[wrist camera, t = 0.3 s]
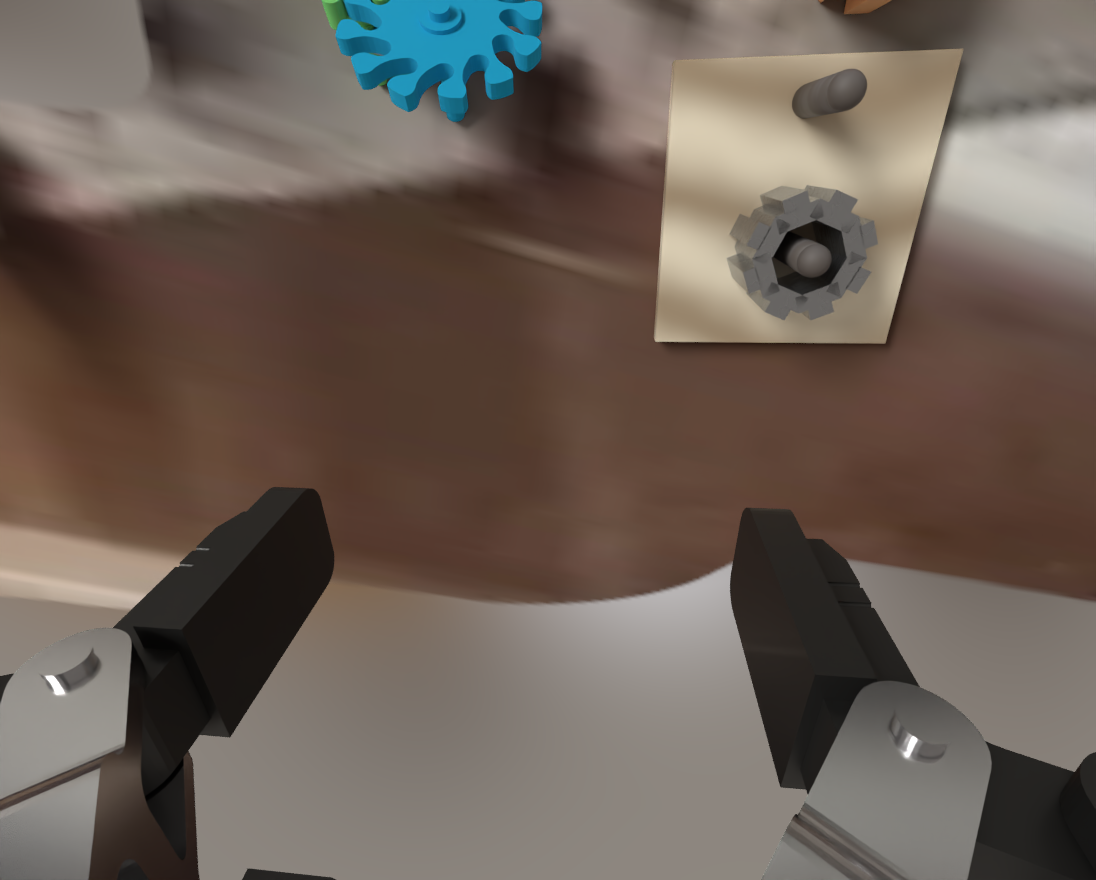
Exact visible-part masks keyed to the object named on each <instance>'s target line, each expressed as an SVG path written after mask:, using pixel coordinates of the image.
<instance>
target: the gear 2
mask: <svg viewBox="0 0 1096 880" xmlns="http://www.w3.org/2000/svg"><path fill="white" fill-rule="evenodd" d="M818 1H819V2H820V3H821V2H822V1H824V0H818ZM890 1H892V0H846V5H845V10H844V14H861V13H870V12H872V11H873V10H875V9H877V8H879V7H881V6H883V5H884V4H886V3H888V2H890Z"/></svg>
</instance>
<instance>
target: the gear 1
mask: <svg viewBox="0 0 1096 880" xmlns="http://www.w3.org/2000/svg"><path fill="white" fill-rule="evenodd" d="M760 198H761V202H762V206H761V207H758V208H756V209H754V210H753V212H752V214H751V216H750V218H749V217H747V216H745V215H742V214H739V216H738V218H737V220H736V222H735V224H734V226H733V228H732V230H731V232H730V235H731V236H733V237H734V238H736V239H738V240H737V242H736V244H735V246H734V247H735V250H736V254H735V255H733V256H731V257H728V258H727V262H728V265H729V269H730V272H731V276H732V278H733V279H734V280H735V281H736V282H737V283H738V284H739V285H740V286H741V287H742V288H743V289H744V290H745V291H746V294H747V295H748V296H749V297H750V298H751V299H752V300H753V301H754V302H755V303H756V304H757V305H758V306H759V307H760V308H761V309H762V310H763V311H764V312H766V313H768V314H770V315H773V316H775V317H777V318H780V319H782V320H785V319H786V317H787V316H788V314H789V312H790V311H791V310H792V311H794V312H796V313H802V314H803V315H804V316H806V317H807V318H808V319H809V320H813V319H816V318H819V317H822V316H824V315H827V314H830V313H833V312H834V310H833V305H832V301H834V300H837V299H840V298H842V296H843V295H844V293H845V291H846V290H849V291H852V292H854V293H856V294H857V293H858V292H859V290H860V289H861V287H862V286H863V284H864V283H865V281H866V280H867V278H868V277H869V275H870V274H871V271H869V270H866V269H864V268H862V265H863V264H864V262H865V261H866V259H867V255H866V250H865V249H867V248H870V247H872V246H875V245H877V244H878V240H877V234H876V229H875V223H874V220H870V219H866V218H862V217H859V216H858V215H856V214H854V213H851V211H852V209H853V208H854V206H855V204H856V203H857V201H858V199H856V198H854V197H852V196H849V195H847V194H845V193H843V192H841V191H838V190H836V189H829V188H822V187H816V186H809V185H807V186H806V187H805V189H804V190H803V189H797V188H792V187H786V186H780V187H777V188H775V189H773V190H770V191H768V192H766V193H764V194H761V195H760ZM810 222H812V225H813V229H814V234H815V238H816V243H819V244H821V245H823V246H825V247H827V248H828V249H829V251H830V253H831V257H832V260H831V264H830V267H829V268H828V270H827V271H826V272H825V273H824V274H822V275H820V276H818V277H814V278H809V277H805V276H803V275H801V274H800V273H798V272H797V271H796V272H793V273H791V274H788V275H786V276H783V277H781V278H777V277H776V274H775V270H774V266H773V262H772V257H773V256H774V254H775V252H776V250H777V249H778V247H779V245H780V243H781V242H782V240H783V238H784V236H785V235H786V233H787V232H788V231H790V230H793V229H795V228H798V227H800V226H802V225H805V224H807V223H810Z"/></svg>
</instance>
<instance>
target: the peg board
mask: <svg viewBox="0 0 1096 880" xmlns="http://www.w3.org/2000/svg"><path fill="white" fill-rule="evenodd" d="M962 53H963V49H941V50H916V51H891V52H866V53H842V54H817V55H792V56H767V57H743V58H718V59H693V60H675V61H674V62H673V64H672V78H671V93H670V107H669V122H668V137H667V152H666V166H665V181H664V196H663V211H662V225H661V240H660V255H659V270H658V284H657V299H656V314H655V329H654V338H655V342H759V343H886V339H887V335H888V331H889V328H890V324H891V320H892V316H893V313H894V309H895V305H896V301H897V298H898V294H899V290H900V286H901V283H902V279H903V275H904V271H905V267H906V264H907V260H908V256H909V252H910V249H911V245H912V241H913V237H914V234H915V230H916V226H917V222H918V219H919V215H920V211H921V207H922V203H923V200H924V196H925V192H926V188H927V185H928V181H929V177H930V173H931V170H932V166H933V162H934V158H935V155H936V151H937V147H938V143H939V139H940V136H941V132H942V128H943V124H944V121H945V117H946V113H947V109H948V106H949V102H950V98H951V94H952V91H953V87H954V83H955V79H956V75H957V72H958V68H959V64H960V60H961V57H962ZM807 185H809V186H816V187H822V188H829V189H836V190H838V191H841V192H843V193H845V194H847V195H849V196H852V197H854V198H856V199H858V201H857V203H856V204H855V206H854V208H853V209H852V211H851V213H854V214H856V215H858V216H859V217H862V218H866V219H870V220H874V223H875V229H876V234H877V240H878V244H877V245H875V246H872V247H870V248H867V249H865V250H866V255H867V259H866V261H865V262H864V264H863V265H862V268H864V269H866V270H869V271H871V274H870V275H869V277H868V278H867V280H866V281H865V283H864V284H863V286H862V287H861V289H860V290H859V292H858V293H857V294H856V293H854V292H852V291H849V290H846V291H845V293H844V295H843V296H842V298H840V299H837V300H834V301H832V305H833V310H834V312H833V313H830V314H827V315H824V316H822V317H819V318H816V319H813V320H809V319H808V318H807V317H806V316H804V315H803V314H802V313H796V312H794V311H792V310H791V311H790V312H789V314H788V316H787V317H786V319H785V320H782V319H780V318H777V317H775V316H773V315H770V314H768V313H766V312H764V311H763V310H762V309H761V308H760V307H759V306H758V305H757V304H756V303H755V302H754V301H753V300H752V299H751V298H750V297H749V296H748V295H747V294H746V291H745V290H744V289H743V288H742V287H741V286H740V285H739V284H738V283H737V282H736V281H735V280H734V279H733V278H732V276H731V272H730V269H729V265H728V262H727V258H728V257H731V256H733V255H735V254H736V250H735V247H734V246H735V244H736V242H737V240H738V239H736V238H734V237H733V236H731V235H730V232H731V230H732V228H733V226H734V224H735V222H736V220H737V218H738V216H739V214H742V215H745V216H747V217H749V218H750V216H751V214H752V212H753V210H754V209H756V208H758V207H761V206H762V202H761V198H760V195H761V194H764V193H766V192H768V191H770V190H773V189H775V188H777V187H780V186H786V187H792V188H797V189H803V190H804V189H805V187H806V186H807ZM831 260H832V257H831V253H830V251H829V249H828V248H827V247H825V246H823V245H821V244H819V243H816V238H815V234H814V229H813V225H812V222H810V223H807V224H805V225H802V226H800V227H798V228H795V229H793V230H790V231H788V232H787V233H786V235H785V236H784V238H783V240H782V242H781V243H780V245H779V247H778V249H777V250H776V252H775V254H774V256H773V257H772V262H773V266H774V270H775V274H776V277H777V278H781V277H783V276H786V275H788V274H791V273H793V272H796V271H797V272H798V273H800V274H801V275H803V276H805V277H809V278H814V277H818V276H820V275H822V274H824V273H825V272H826V271H827V270H828V268H829V267H830V264H831Z"/></svg>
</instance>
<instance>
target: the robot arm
mask: <svg viewBox="0 0 1096 880" xmlns="http://www.w3.org/2000/svg"><path fill="white" fill-rule="evenodd" d="M333 568H334V551H333V547H332V543H331V539H330V535H329V531H328V527H327V523H326V519H325V515H324V511H323V507H322V503H321V499H320V496H319V494H318V493H317V491H316V490H314V489H309V488H285V487H273V488H271V489H269V490H268V491H267V492H266V493H265V494H264V495H263V496H262V497H261V498H260V499H259V500H258V501H257V502H256V503H255V504H254V505H253V506H252V507H251V508H250V509H249V510H248V511H247V512H242V513H240V514H239V515H237V516H235V517H233V518H232V519H230V520H228V521H227V522H225V523H223V524H221V525H220V526H218V527H216V528H215V529H214V530H213V531H212V532H211V533H210V534H209V535H208V536H207V537H206V538H205V539H204V540H203V541H202V542H201V543H200V544H199V545H198V546H197V549H196V551H192V552H191V553H189V554H188V555H187V556H186V557H185V558H184V559H183V560H182V561H181V562H180V566H179V567H175V568H174V569H173V570H172V571H171V572H170V573H169V574H168V575H167V576H166V577H165V578H164V579H163V580H162V581H161V582H160V583H159V584H157V585H156V586H155V587H154V588H153V589H152V590H151V591H150V592H149V593H148V594H147V595H146V596H145V597H144V598H143V599H142V600H141V601H140V602H139V603H138V604H137V605H136V606H135V607H134V608H133V609H132V610H131V611H130V612H129V613H128V614H127V615H125V617H123V618H122V619H121V620H120V621H119V622H118V623H117V624H116V625H115V626H114V627H113V628H98V629H92V630H87V631H84V632H80V633H77V634H74V635H72V636H69V637H66V638H64V639H62V640H60V641H58V642H56V643H54V644H52V645H50V646H48V647H47V648H45V649H43V650H42V651H40V652H39V653H37V654H36V655H34V656H33V657H32V658H30V659H29V660H28V661H27V662H26V663H24V664H23V665H22V666H21V667H20V668H19V669H18V670H17V672H16V673H14V674H9V675H4V676H0V880H200V878H199V871H198V855H197V833H196V812H195V790H194V769H193V760H192V757H191V755H190V753H189V751H188V750H189V749H190V747H191V746H192V745H193V743H194V742H195V740H196V739H197V737H198V736H199V735H209V736H220V737H221V736H222V737H231V735H232V733H233V732H234V730H235V729H236V727H237V726H238V724H239V723H240V721H241V719H242V718H243V716H244V715H245V713H246V712H247V710H248V709H249V707H250V705H251V704H252V702H253V700H254V699H255V698H256V696H257V694H258V693H259V691H260V690H261V688H262V687H263V685H264V684H265V682H266V681H267V679H268V677H269V676H270V674H271V672H272V671H273V669H274V668H275V667H276V665H277V663H278V662H279V660H280V658H281V657H282V656H283V654H284V652H285V651H286V649H287V648H288V646H289V645H290V643H291V641H292V640H293V638H294V637H295V635H296V634H297V632H298V631H299V629H300V628H301V626H302V624H303V623H304V621H305V620H306V618H307V617H308V615H309V613H310V612H311V610H312V609H313V607H314V605H315V604H316V603H317V601H318V599H319V598H320V596H321V595H322V593H323V592H324V590H325V589H326V587H327V585H328V584H329V582H330V579H331V576H332V573H333ZM859 585H860V583H859V581H858V579H857V578H856V576H855V574H854V573H853V571H852V569H851V568H850V565H849V564H848V562H847V560H846V559H845V558H843V557H842V556H841V555H840V554H839V553H838V552H836V551H835V550H834V549H833V548H832V547H831V546H829V545H828V544H827V543H826V542H825V541H823V540H822V539H806V538H805V536H804V534H803V532H802V530H801V528H800V526H799V524H798V522H797V520H796V518H795V516H794V514H793V513H792V511H791V510H788V509H764V508H745V509H744V511H743V513H742V517H741V521H740V527H739V532H738V538H737V543H736V549H735V555H734V560H733V566H732V571H731V580H730V594H731V604H732V609H733V613H734V617H735V620H736V624H737V628H738V631H739V635H740V639H741V643H742V646H743V650H744V654H745V657H746V661H747V665H748V669H749V672H750V676H751V679H752V683H753V687H754V690H755V695H756V698H757V702H758V706H759V709H760V713H761V717H762V721H763V724H764V728H765V732H766V735H767V739H768V743H769V746H770V750H771V754H772V757H773V761H774V765H775V769H776V772H777V776H778V780H779V783H780V787H783V788H796V789H806V790H807V794H808V796H807V798H806V800H805V802H804V805H803V806H802V808H801V810H800V812H799V814H798V815H797V814H795V816H794V817H793V819H792V820H791V822H790V824H789V825H788V827H787V829H786V831H785V833H784V835H783V837H782V839H781V841H780V843H779V845H778V847H777V849H776V851H775V853H774V855H773V857H772V859H771V861H770V863H769V865H768V867H767V869H766V871H765V873H764V875H763V877H762V879H761V880H1096V752H1095V753H1092V754H1090V755H1088V756H1087V757H1086V758H1085V759H1084V760H1083V762H1082V763H1081V764H1080V766H1079V767H1078V768H1077V770H1076V771H1075V772H1073V771H1069V770H1067V769H1063V768H1061V767H1058V766H1055V765H1051V764H1048V763H1045V762H1042V761H1039V760H1036V759H1033V758H1030V757H1027V756H1024V755H1021V754H1018V753H1015V752H1012V751H1009V750H1006V749H1004V748H1001V747H998V746H995V745H993V744H990V743H988V742H986V741H985V740H984V739H983V737H982V735H981V734H980V732H979V731H978V729H977V728H976V727H975V726H974V724H973V723H972V722H971V721H970V720H969V719H968V718H967V717H966V716H965V715H964V714H963V713H962V712H960V711H959V710H958V709H957V708H956V707H954V706H953V705H952V704H950V703H949V702H947V701H946V700H944V699H943V698H941V697H939V696H937V695H935V694H934V693H932V692H930V691H927V690H925V689H923V688H920V686H919V685H918V683H917V682H916V680H915V678H914V676H913V674H912V673H911V671H910V669H909V668H908V666H907V664H906V662H905V661H904V659H903V657H902V656H901V654H900V652H899V650H898V648H897V647H896V645H895V643H894V642H893V640H892V638H891V636H890V635H889V633H888V631H887V630H886V628H885V626H884V624H883V623H882V621H881V619H880V617H879V616H878V614H877V612H876V610H875V609H874V608H871V602H870V600H869V598H868V597H867V595H866V593H865V591H864V590H863V588H860V586H859ZM242 880H335V879H333V878H331V877H321V876H312V875H303V874H294V873H285V872H275V871H266V870H257V869H247V871H246V873H245V875H244V877H243V879H242Z"/></svg>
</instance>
